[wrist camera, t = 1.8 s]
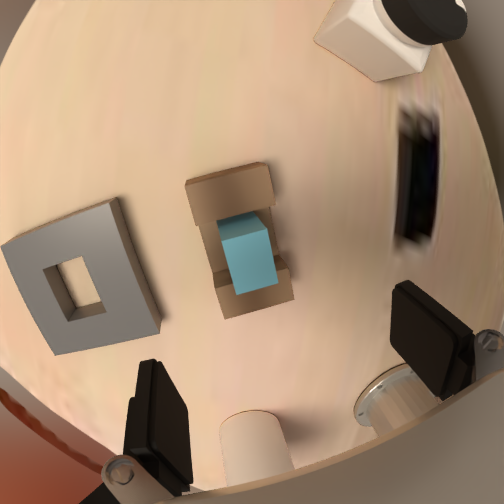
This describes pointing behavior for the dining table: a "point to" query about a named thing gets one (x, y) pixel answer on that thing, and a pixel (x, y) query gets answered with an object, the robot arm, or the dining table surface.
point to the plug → (247, 252)
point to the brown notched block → (230, 204)
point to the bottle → (253, 447)
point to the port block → (102, 274)
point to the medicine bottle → (390, 33)
